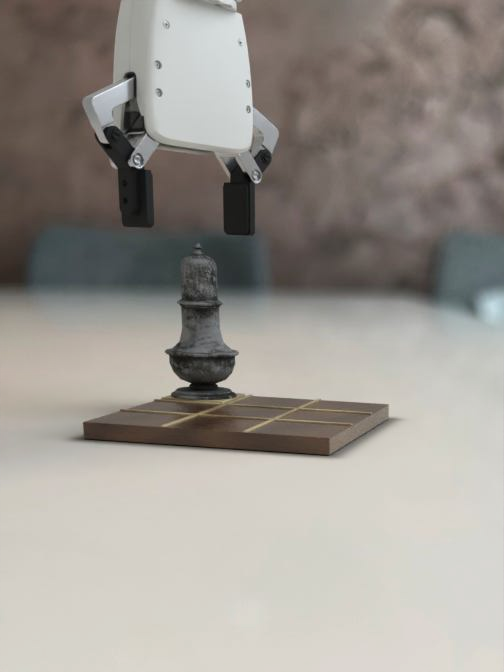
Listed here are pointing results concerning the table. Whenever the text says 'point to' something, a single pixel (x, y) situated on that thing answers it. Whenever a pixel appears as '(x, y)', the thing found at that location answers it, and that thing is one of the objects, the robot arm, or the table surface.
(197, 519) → the table surface
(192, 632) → the table surface
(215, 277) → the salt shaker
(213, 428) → the board
